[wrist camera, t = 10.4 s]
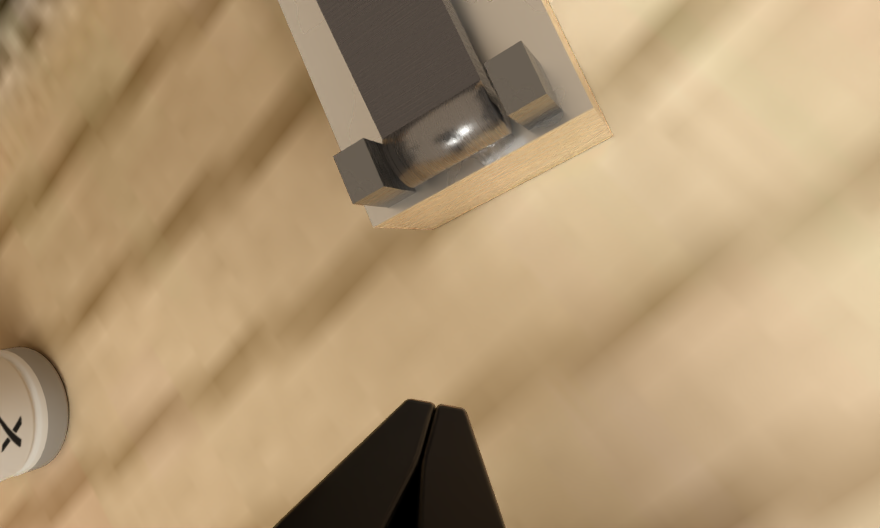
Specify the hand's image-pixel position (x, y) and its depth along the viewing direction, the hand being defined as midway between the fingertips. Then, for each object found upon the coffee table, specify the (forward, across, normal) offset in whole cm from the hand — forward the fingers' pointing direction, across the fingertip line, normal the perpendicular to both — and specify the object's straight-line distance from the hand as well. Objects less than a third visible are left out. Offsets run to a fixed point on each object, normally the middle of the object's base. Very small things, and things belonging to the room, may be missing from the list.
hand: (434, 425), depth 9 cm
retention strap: (+9, +1, -2) cm, 9 cm away
